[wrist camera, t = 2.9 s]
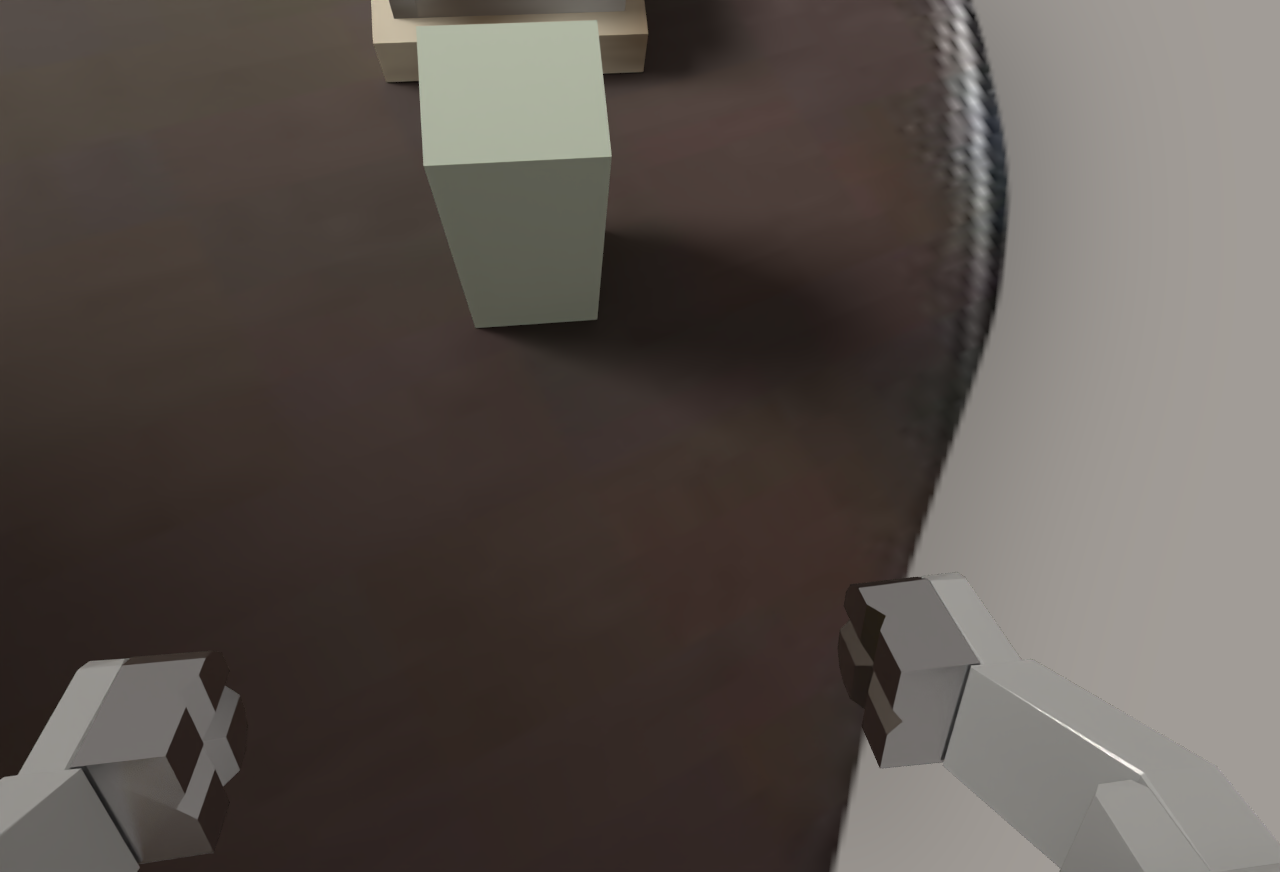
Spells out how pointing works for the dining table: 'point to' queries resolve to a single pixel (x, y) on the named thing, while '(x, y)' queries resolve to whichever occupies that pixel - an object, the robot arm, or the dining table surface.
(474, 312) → the block
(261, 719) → the dining table surface
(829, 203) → the dining table surface
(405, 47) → the cream peg holder
